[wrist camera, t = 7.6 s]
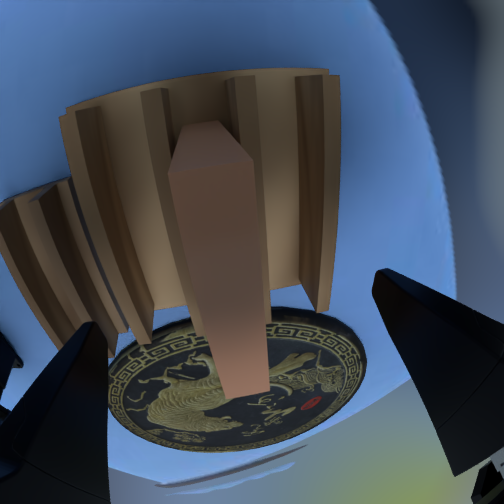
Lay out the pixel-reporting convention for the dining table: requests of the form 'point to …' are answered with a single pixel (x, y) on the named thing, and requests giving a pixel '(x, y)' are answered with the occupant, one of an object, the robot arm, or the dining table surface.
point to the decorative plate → (241, 408)
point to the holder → (58, 263)
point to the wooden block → (223, 251)
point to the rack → (159, 192)
